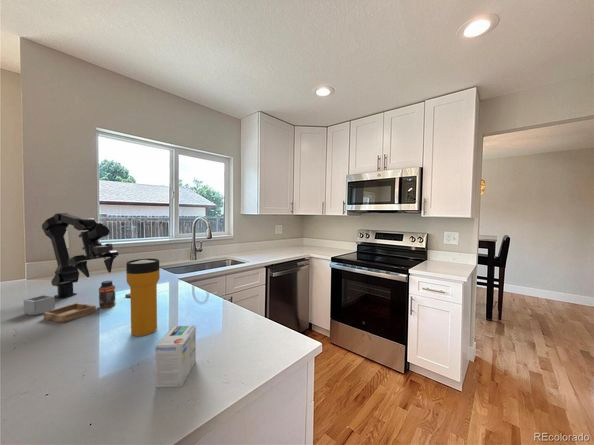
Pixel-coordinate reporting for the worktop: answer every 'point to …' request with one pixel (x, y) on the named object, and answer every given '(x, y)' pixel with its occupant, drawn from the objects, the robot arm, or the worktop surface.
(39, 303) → the grey open square bin
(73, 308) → the tray
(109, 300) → the supplement bottle
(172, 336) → the light bulb box
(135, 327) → the flashlight
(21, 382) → the worktop surface
